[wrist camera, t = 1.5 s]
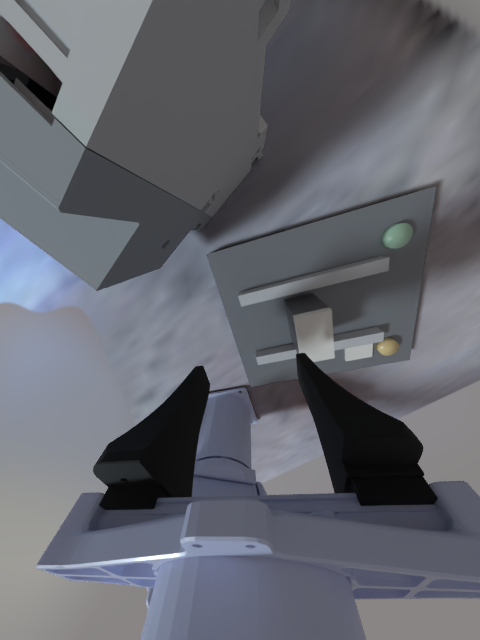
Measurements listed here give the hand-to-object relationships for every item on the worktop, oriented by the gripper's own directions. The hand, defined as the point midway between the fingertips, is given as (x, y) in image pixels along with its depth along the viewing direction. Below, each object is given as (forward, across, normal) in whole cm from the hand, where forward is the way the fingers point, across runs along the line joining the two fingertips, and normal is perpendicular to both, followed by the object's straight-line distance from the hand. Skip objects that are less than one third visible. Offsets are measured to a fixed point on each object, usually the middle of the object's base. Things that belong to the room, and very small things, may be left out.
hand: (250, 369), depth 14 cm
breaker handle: (+7, -6, 0) cm, 9 cm away
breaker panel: (+9, -8, 0) cm, 12 cm away
